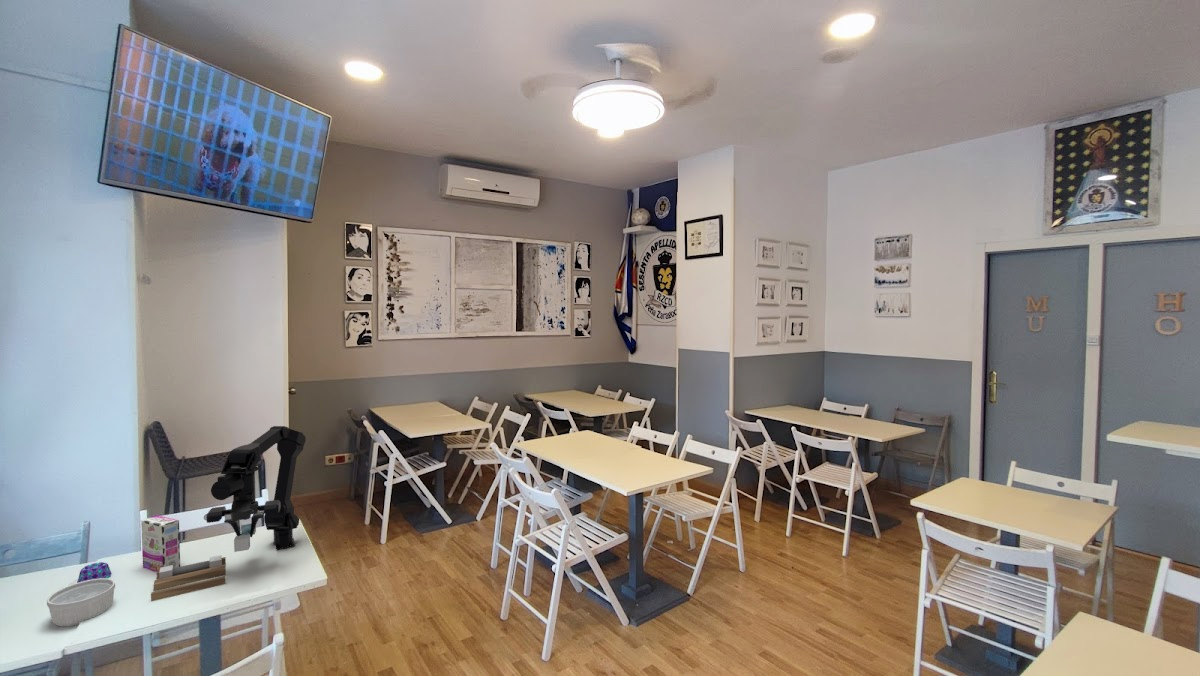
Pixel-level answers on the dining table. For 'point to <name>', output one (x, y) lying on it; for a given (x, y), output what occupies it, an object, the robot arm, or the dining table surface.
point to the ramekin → (81, 601)
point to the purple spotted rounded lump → (93, 572)
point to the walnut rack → (184, 579)
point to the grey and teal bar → (243, 537)
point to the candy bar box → (160, 542)
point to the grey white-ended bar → (190, 567)
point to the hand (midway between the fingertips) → (245, 537)
